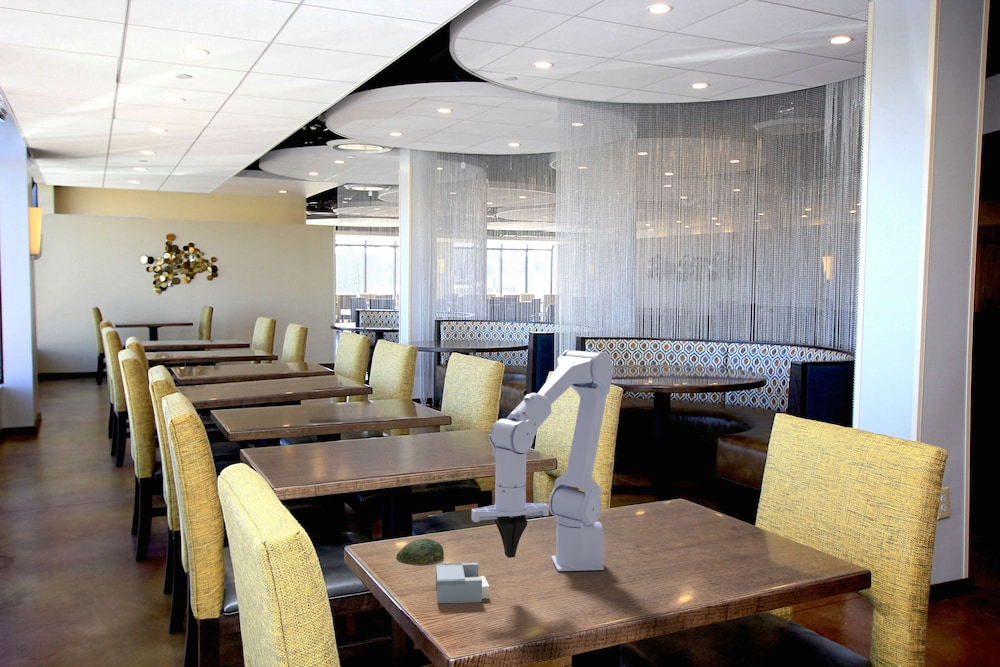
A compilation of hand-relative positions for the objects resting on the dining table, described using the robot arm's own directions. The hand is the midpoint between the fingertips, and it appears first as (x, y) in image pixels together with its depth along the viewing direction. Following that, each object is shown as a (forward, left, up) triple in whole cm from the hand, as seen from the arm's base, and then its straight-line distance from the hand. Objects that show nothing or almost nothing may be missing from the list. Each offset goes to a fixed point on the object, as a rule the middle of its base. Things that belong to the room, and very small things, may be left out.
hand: (510, 555), depth 145 cm
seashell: (+17, -20, -7) cm, 27 cm away
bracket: (+10, 0, -7) cm, 12 cm away
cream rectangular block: (+8, +1, -7) cm, 11 cm away
